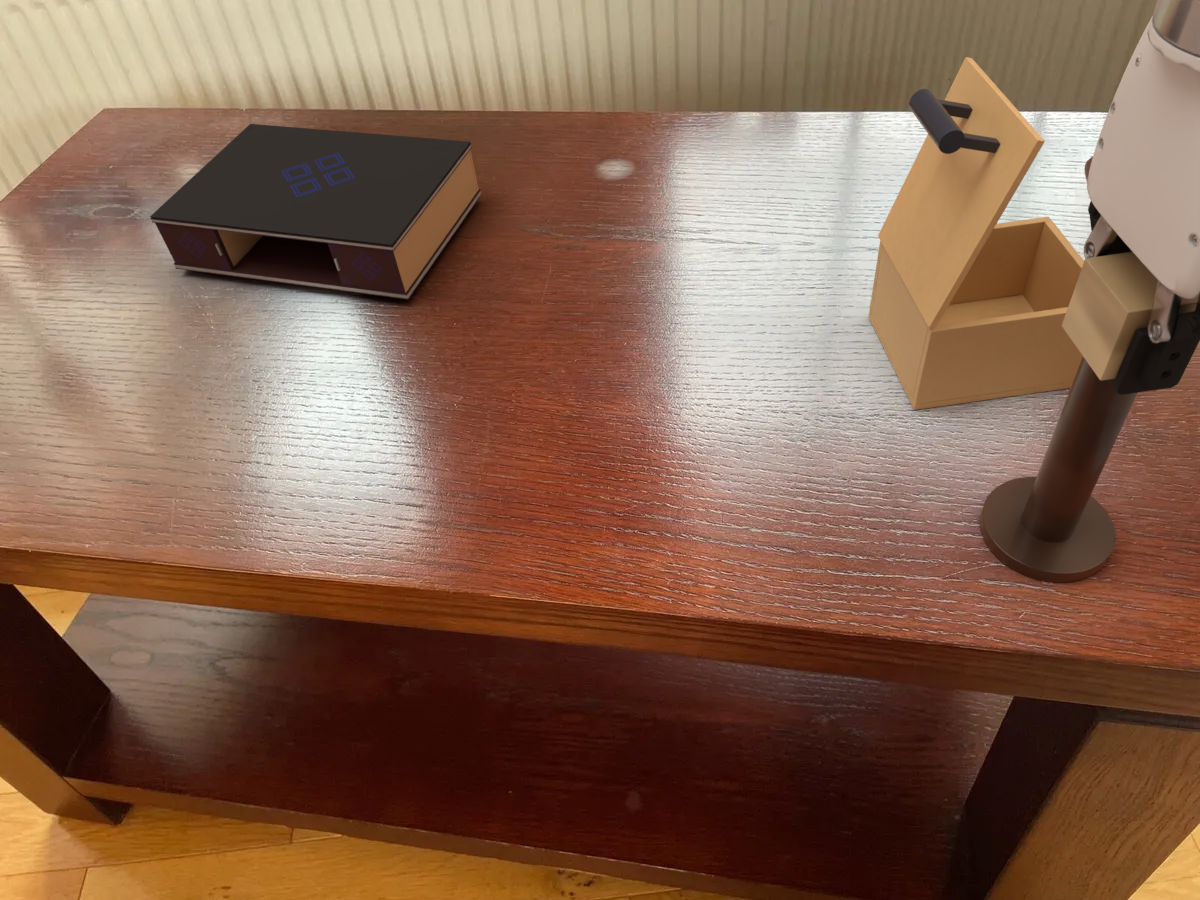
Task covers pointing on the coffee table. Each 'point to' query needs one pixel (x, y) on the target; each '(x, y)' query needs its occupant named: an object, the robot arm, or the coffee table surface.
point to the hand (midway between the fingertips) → (1119, 351)
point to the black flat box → (322, 209)
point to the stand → (1062, 491)
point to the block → (1111, 309)
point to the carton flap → (956, 186)
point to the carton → (986, 321)
